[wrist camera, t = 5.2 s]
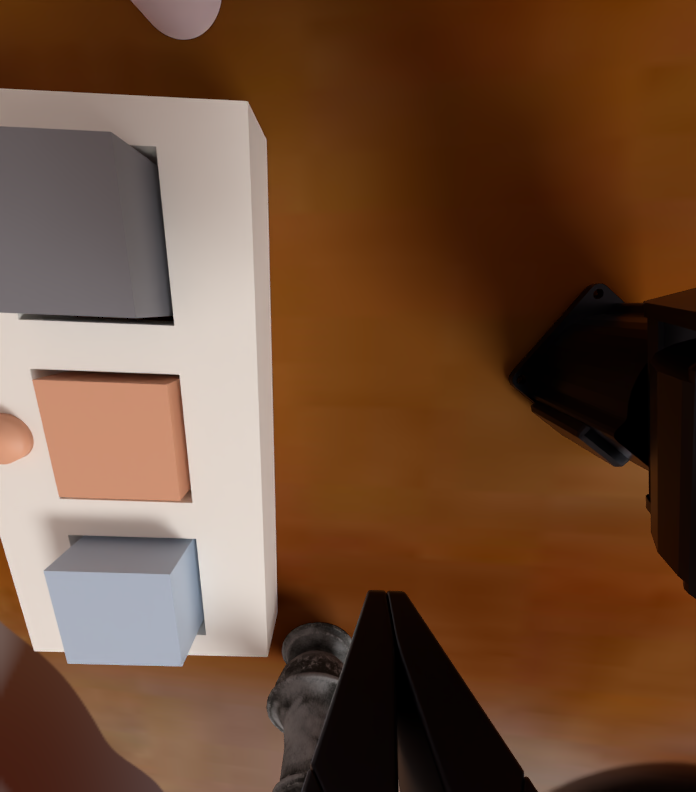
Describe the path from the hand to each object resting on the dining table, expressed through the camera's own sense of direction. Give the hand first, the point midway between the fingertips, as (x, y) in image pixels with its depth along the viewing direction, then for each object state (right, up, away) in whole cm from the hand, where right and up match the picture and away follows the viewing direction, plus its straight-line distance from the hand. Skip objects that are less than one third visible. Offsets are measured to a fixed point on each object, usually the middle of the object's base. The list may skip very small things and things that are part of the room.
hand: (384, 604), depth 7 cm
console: (-12, +3, +11) cm, 17 cm away
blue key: (-12, -6, +12) cm, 18 cm away
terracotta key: (-12, +3, +11) cm, 17 cm away
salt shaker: (-3, -14, +16) cm, 22 cm away
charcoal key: (-12, +12, +7) cm, 18 cm away
